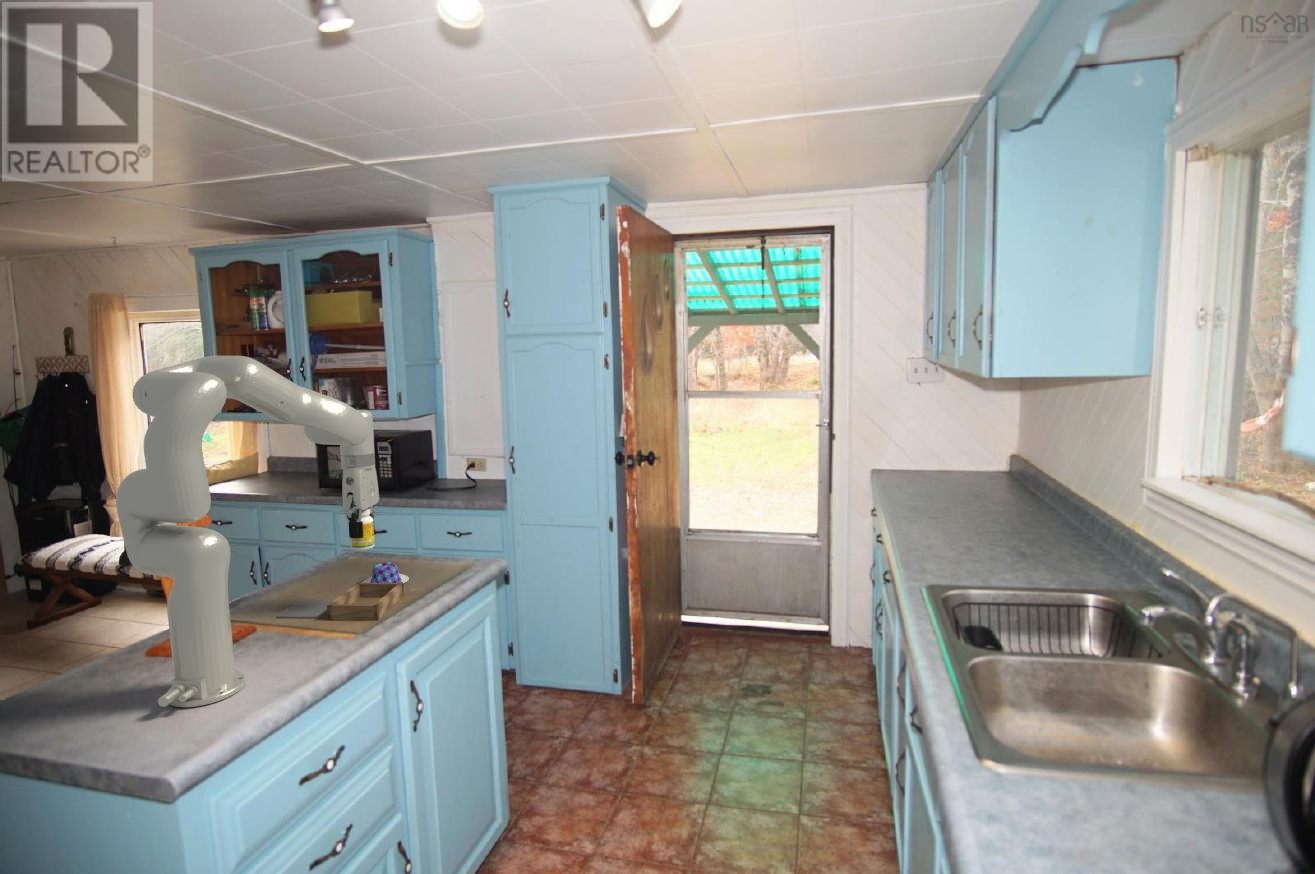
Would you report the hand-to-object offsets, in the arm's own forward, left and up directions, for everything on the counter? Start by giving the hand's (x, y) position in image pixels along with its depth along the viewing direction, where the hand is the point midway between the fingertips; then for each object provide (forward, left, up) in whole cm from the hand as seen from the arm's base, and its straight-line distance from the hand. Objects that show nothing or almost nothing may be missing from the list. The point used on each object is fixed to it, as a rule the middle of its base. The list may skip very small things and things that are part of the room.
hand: (362, 533), depth 169 cm
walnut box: (0, 0, -19) cm, 19 cm away
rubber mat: (-2, +14, -19) cm, 24 cm away
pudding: (+18, +3, -19) cm, 27 cm away
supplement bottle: (0, 0, -4) cm, 4 cm away
